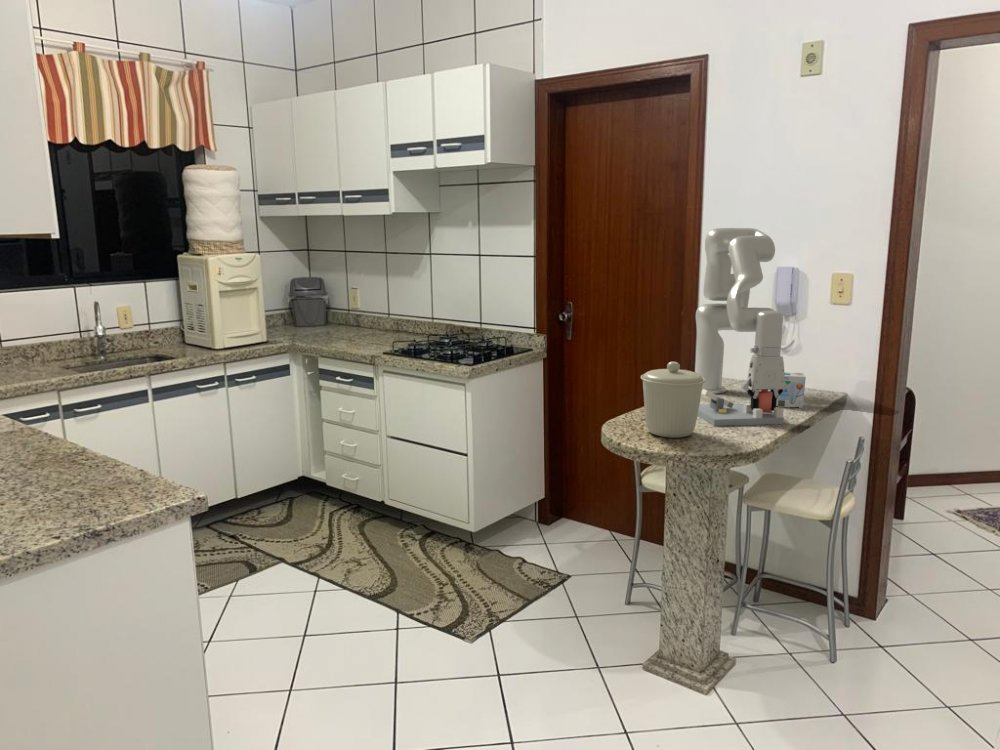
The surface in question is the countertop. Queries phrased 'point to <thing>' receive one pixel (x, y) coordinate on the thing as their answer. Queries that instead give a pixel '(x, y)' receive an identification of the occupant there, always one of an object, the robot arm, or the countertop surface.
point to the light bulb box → (792, 391)
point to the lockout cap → (765, 400)
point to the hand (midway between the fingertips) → (763, 409)
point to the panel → (737, 414)
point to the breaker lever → (716, 398)
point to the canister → (672, 400)
